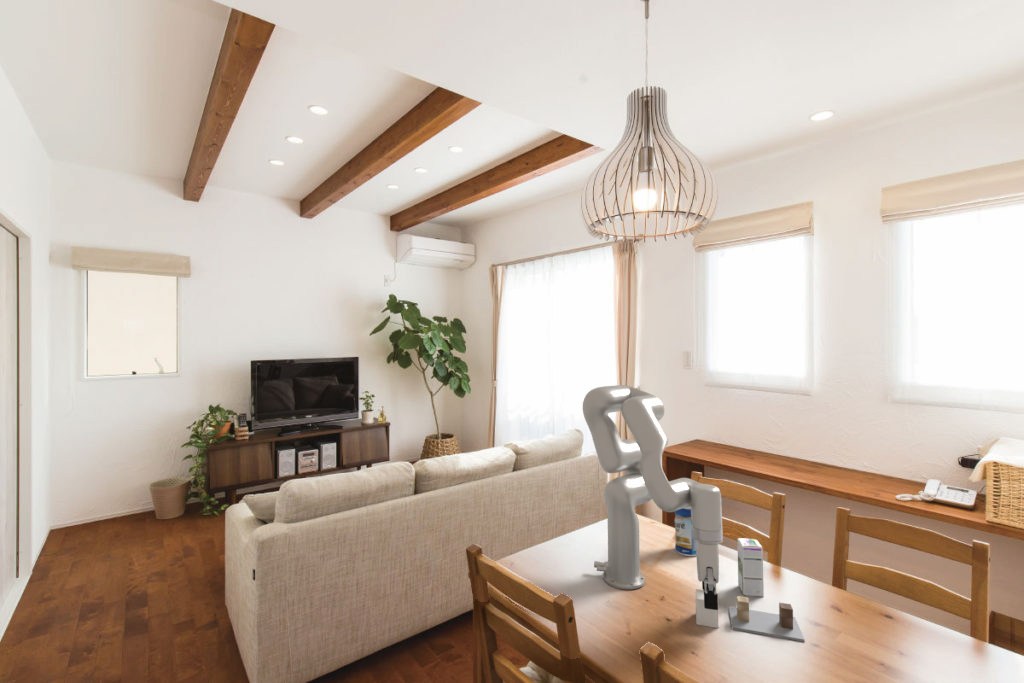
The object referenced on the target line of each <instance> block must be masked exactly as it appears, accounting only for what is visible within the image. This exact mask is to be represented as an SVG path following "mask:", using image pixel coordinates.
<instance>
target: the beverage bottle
mask: <svg viewBox="0 0 1024 683" xmlns="http://www.w3.org/2000/svg"><path fill="white" fill-rule="evenodd" d="M674 515H675V517H674V530H675V532H674V533H675V534H674V535H675V537H674V538H675V539H674V541H675V542H674V549H675V552H676V553H678V554H679V555H681V556H686V557H697V554H696V541H695V540H694V539H693V538H692V519H691V506H690V507H685V508H682V509H679V510H677V511H674Z"/></svg>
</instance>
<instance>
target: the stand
mask: <svg viewBox="0 0 1024 683" xmlns="http://www.w3.org/2000/svg"><path fill="white" fill-rule="evenodd" d="M728 613H729V618H730V623H731V628H732V630H735V631H741V632H747V633H752V634H757V635H764V636H769V637H774V638H781V639H785V640H793V641H797V642H802V643H805V638H804V635H803V632H802V629H801V628H800V626H799V623H798V621H797V619H796V617H795V616H793V629H787V628H781V625H780V622H779V614H778V613H773V612H767V611H766V612H765V611H759V610H754V609H749V622H746V621H740V620H738V617H737V606H736V607H734V606H728Z"/></svg>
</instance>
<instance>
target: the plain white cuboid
mask: <svg viewBox="0 0 1024 683" xmlns="http://www.w3.org/2000/svg"><path fill="white" fill-rule="evenodd" d="M704 592H705V590H703V589H698V588H696V589H695V618H696V619H695V620H696V621H695V622H696V625H698V626H699V625H700V626H703V627H710V628H715V629H716V628H717V629H719V609H718V610H712V609H706V608H705V607H704Z"/></svg>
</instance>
